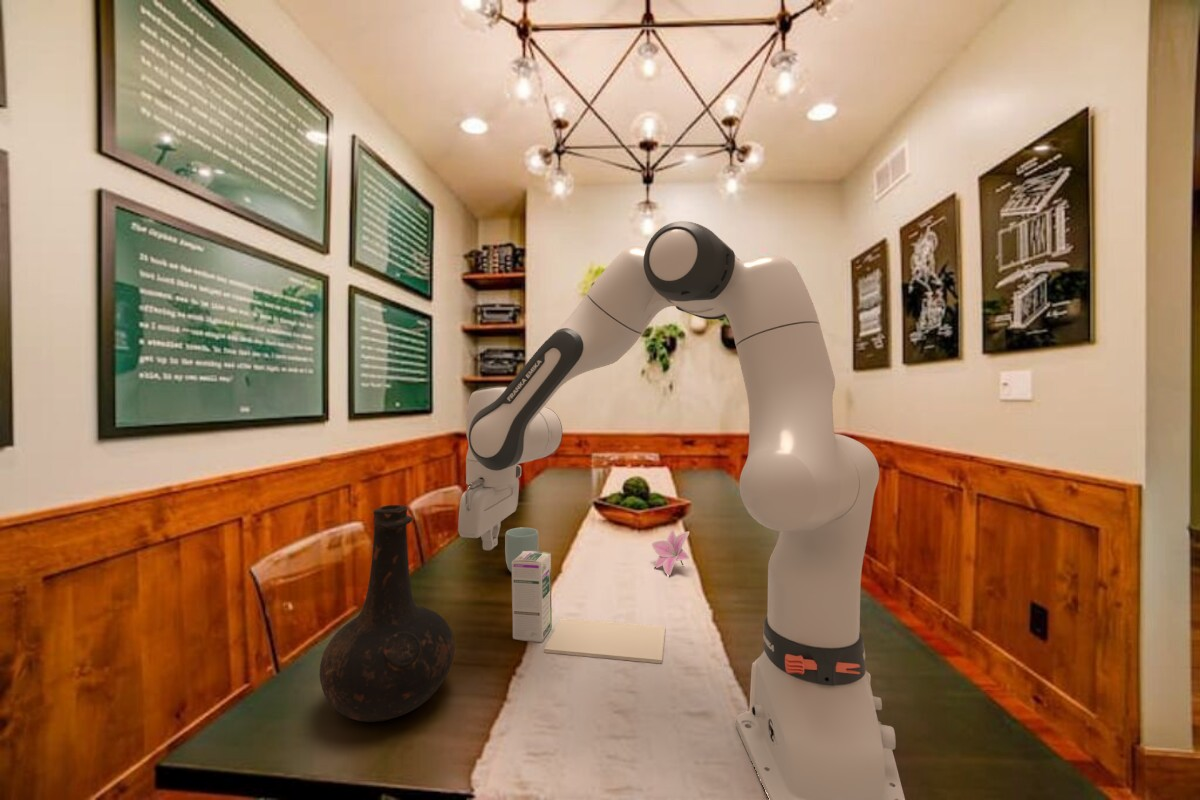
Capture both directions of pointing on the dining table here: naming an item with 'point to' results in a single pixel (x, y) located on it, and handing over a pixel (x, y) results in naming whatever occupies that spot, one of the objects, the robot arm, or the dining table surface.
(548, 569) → the syrup box
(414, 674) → the glass bottle
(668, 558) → the lily
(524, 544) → the cup
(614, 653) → the mat
